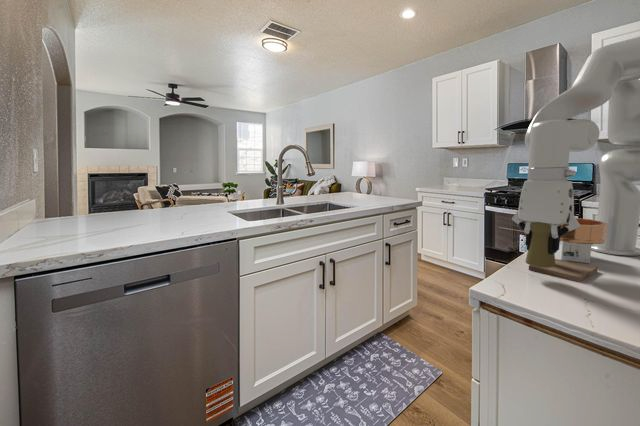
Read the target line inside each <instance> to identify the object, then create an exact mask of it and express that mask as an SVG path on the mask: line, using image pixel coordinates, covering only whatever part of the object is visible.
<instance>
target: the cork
mask: <svg viewBox="0 0 640 426" xmlns="http://www.w3.org/2000/svg"><path fill="white" fill-rule="evenodd" d="M530 230H531V231H532V237H531V242H530V246H529V250H527V252H526V253H527V254H526V258H525V263H526V264H528V266H529V265H532V266H536V267H545V268H549V267H554V266H555V259H556V257H555V254H556V253H554V254H552V255H551V254H549V253H548V243H549V238H550V237H551V235H552V233H551V225H550V224H546V223H542V222H531V224H530Z"/></svg>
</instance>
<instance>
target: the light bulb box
mask: <svg viewBox="0 0 640 426" xmlns="http://www.w3.org/2000/svg"><path fill="white" fill-rule="evenodd" d="M591 245H592V244H577V243H569V242H563V241H560V244H559V250H558V251H557V252H556V253H557V254H558V257H559V260H564V261H569V262H574V263H581V264H590V262H591V254H592V250H591Z"/></svg>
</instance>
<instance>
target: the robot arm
mask: <svg viewBox="0 0 640 426" xmlns="http://www.w3.org/2000/svg"><path fill="white" fill-rule="evenodd" d="M607 102H608V110H607V111H608V112H607V139H608V142H609V143H610V144H613V145H616V146H619V145H621V146H622V145H624V146H626V145H627V146H628V145H640V36H636V37H633V38H630V39H629V38H628V39H626V40H622V41H618V42H614V43H610V44H607V45H604V46H602V47H601V46H600V47H599V48H597V49H596V50H594V51H593V52H592V53H591V54H589V56H588V57H587V59H586V61H585V62H584V64H583V66H582V68H581V69H580V71H579V73H578V75H577V77H575V80H574V82H573V83H572V86H571V87H570V88H569V89H567V90H565V91H564V92H562V93H560V94H559V95H558V96H556V97H554V98H553V99H552V100H550V101H549V102H547V103H545V105H543V106H542V107H541V108H540V109H539V110H538V112H537V113H536V114H535V115H534V117H533V119H532V120H531V122H530V124H529V126H528V128H527V129H526V130H527V131H526V132H525V135H524V136H525V137H524V146H525V148H526V150H528V151H529V154H528V168H527V180H524V183H523V185H522V188H521V193H520V197H519V203H518V204H519V205H518V210H517V211H516V212H515V214H514V215H513V216H512V217H511V220H512V222H514V223H515V224H517V225H518V226H519V227H520V229H522V231H523V233H524V234H525V243H524V245H525V246H526V251H528V250H529V246H530V242H531V237H532V231H531V230H530V224H531V222H542V223H546V224H550V225H551V233H552V235H551V237H550V238H549V243H548V253H549V254H551V255H552V254H556V253H558V252H557V251H558V250H559V244H560V237H561V236H562V235H564V234H565V233H567V232H568V231H571V230H574V229H577V228H579V227H580V224H579V222H578V221H577V219H576V218H577V217H576V216H575V206H574V205H575V200H574V186H573V182H572V180H568V179H569V178H571V177H575V176H576V174H577V173H576V170H572V169H570V167H569V164H570V162H569V161H570V153H580V152H584V151H585V152H586V151H588V150H589V149H591V148H593V147H594V146H595V145H596V143H597V142H598V140H599V138H600V129H599V126H598V124H597V123H596V122H594V121H593V120H591V119H588V118H578V119H571V118H574V117H577V116H580V115H582V114H585V113H588V112H590V111H593V110H594V109H597V108H599V107H601V106H603V105H604V104H606V103H607ZM598 167H599V169H598V170H599V179H600V184H599V185H600V188H599V189H600V190H599V200H598V207H597V216H596V217H597V218H596V220H597V221H602V222H605V223H607V224H608V228H607V236H606V238H605V242H604V243H602V244H592V245H591V251H595V252H597V253H604V254H608V255H614V256H627V257H628V256H630V257H634V256H636V257H637V256H640V248H638V247H637V246H636V245H637V241H638V239H637V238H638V232H639V225H640V190H639V188H638V187H637V186H636V185H635V183H634V182H640V148H624V149H622V148H621V149H615V150H611V151H607V152H606V153H604V154H603V155H602V156H601V157H600V159H599V163H598ZM565 223H569V225H568V226H566V227H563V228H562V225H564V224H565Z"/></svg>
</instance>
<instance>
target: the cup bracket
mask: <svg viewBox="0 0 640 426" xmlns="http://www.w3.org/2000/svg"><path fill="white" fill-rule="evenodd" d="M575 218H576V219H577V221H578V222H579V224H580V227H579V228H577V229H574V230H571V231H568V232H567V233H565V234H564V235H562V236H561V237H560V241H563V242H569V243H577V244H602V243H604V242H605V238H606V236H607V228H608V224H607V223H605V222H602V221H597V219H589V218H588V219H587V218H578V217H575ZM568 225H569V223H565V224H564V225H562V228H563V227H566V226H568ZM598 269H599V267H597V266H593V265H588V264H585V263H580V262H574V261H565V260H561V259H560V258H559V259H558V258H555V266H554V267H549V268H545V267H536V266H532V265H529V264H528V270H529V271H532V272H536V273H540V274H545V275H548V276H553V277H558V278H561V279H565V280H570V281H573V282H578V283H580V282H582V281H584V280H586V279H588V278H589V277H591V276H592V275H594V274H596V273H597V272H598Z"/></svg>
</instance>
